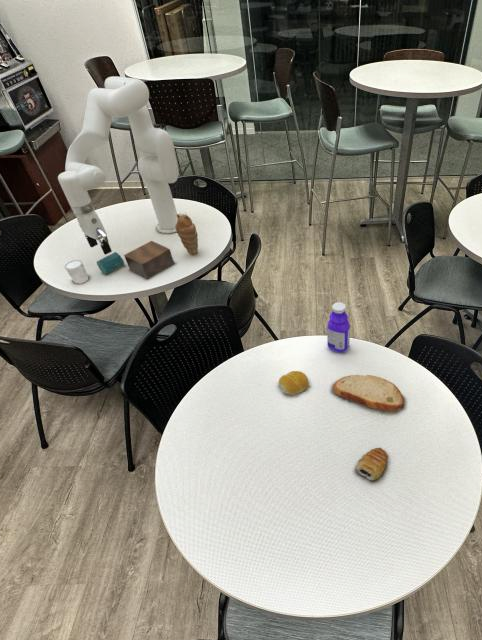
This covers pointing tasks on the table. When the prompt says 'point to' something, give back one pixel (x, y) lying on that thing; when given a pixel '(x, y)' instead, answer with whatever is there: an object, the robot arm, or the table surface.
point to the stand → (149, 259)
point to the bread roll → (293, 382)
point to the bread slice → (370, 392)
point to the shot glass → (77, 271)
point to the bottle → (338, 329)
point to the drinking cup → (110, 263)
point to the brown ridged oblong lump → (187, 233)
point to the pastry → (372, 464)
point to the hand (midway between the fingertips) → (101, 249)
